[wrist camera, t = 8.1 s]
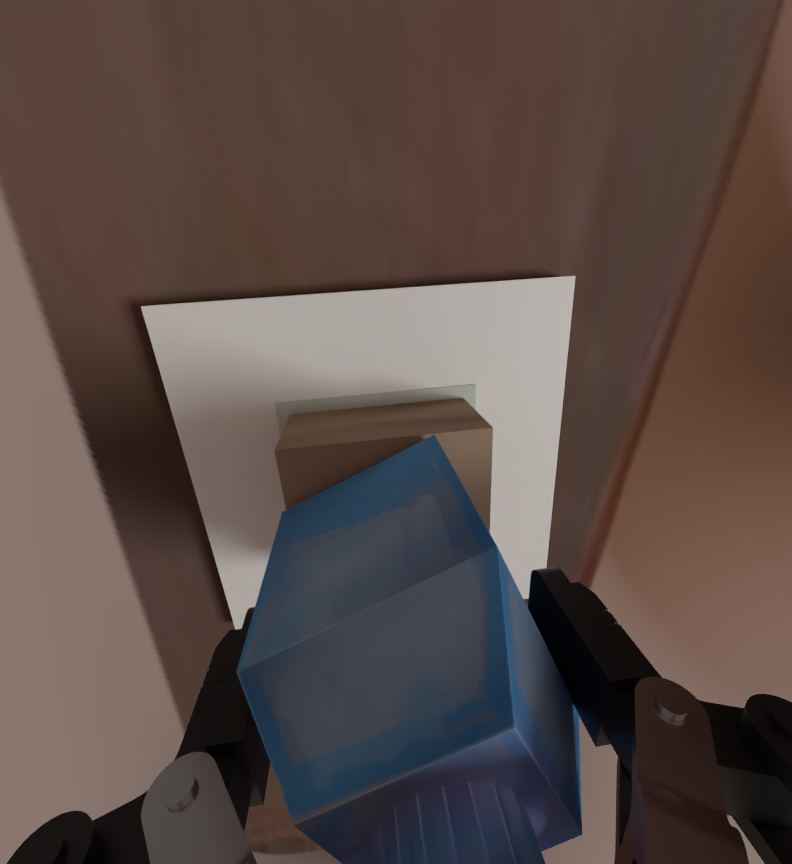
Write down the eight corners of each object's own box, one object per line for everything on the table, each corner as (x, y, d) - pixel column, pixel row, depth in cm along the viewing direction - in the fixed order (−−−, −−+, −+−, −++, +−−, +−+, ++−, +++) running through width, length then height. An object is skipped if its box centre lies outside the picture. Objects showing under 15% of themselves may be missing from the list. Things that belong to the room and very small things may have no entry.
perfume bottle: (363, 619, 16) (396, 1337, 5) (282, 511, 14) (30, 1395, 3) (495, 555, 16) (835, 1192, 5) (434, 434, 14) (820, 1121, 2)
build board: (154, 304, 16) (139, 306, 15) (561, 276, 18) (576, 275, 17) (243, 622, 23) (237, 640, 22) (534, 581, 24) (543, 596, 23)
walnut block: (290, 414, 17) (274, 450, 14) (463, 397, 18) (492, 427, 14) (315, 557, 20) (307, 619, 17) (463, 538, 21) (487, 593, 17)
